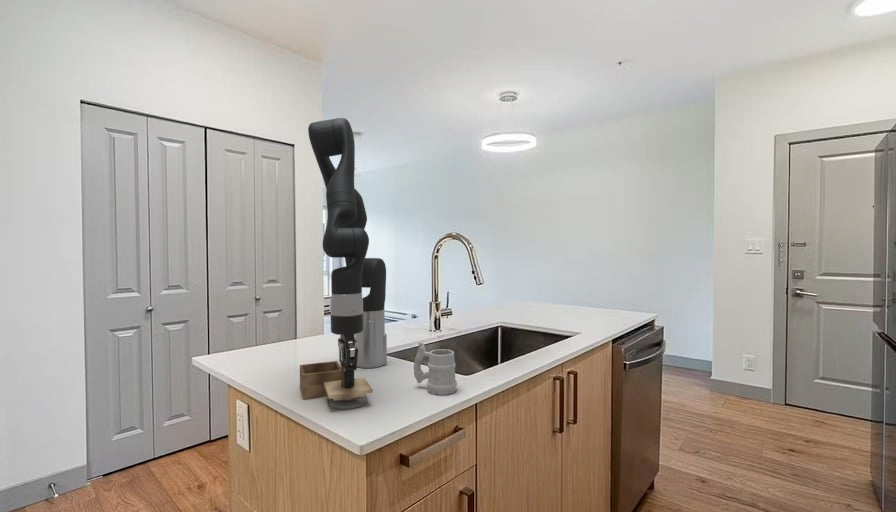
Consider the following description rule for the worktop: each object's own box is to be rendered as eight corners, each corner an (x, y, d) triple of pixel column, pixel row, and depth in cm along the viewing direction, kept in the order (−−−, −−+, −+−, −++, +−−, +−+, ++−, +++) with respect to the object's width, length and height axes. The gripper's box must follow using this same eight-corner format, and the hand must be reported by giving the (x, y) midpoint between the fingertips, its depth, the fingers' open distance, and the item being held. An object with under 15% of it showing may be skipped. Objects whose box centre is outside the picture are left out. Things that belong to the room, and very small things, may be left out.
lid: (363, 384, 108) (363, 359, 108) (372, 397, 99) (372, 369, 99) (323, 389, 104) (323, 364, 104) (329, 403, 95) (328, 375, 95)
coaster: (363, 393, 108) (363, 391, 108) (371, 405, 100) (371, 403, 99) (326, 398, 104) (326, 396, 104) (331, 411, 96) (331, 409, 96)
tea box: (337, 382, 116) (337, 360, 116) (343, 394, 108) (342, 370, 107) (299, 387, 113) (299, 364, 112) (302, 399, 104) (302, 375, 104)
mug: (450, 397, 105) (450, 348, 104) (407, 391, 109) (406, 344, 109) (461, 387, 112) (461, 341, 111) (420, 382, 116) (419, 338, 116)
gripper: (369, 315, 96) (370, 391, 97) (357, 307, 109) (358, 374, 110) (335, 317, 93) (336, 396, 94) (326, 309, 106) (327, 378, 107)
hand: (348, 384), depth 102 cm, fingers closed on lid, 3 cm apart
